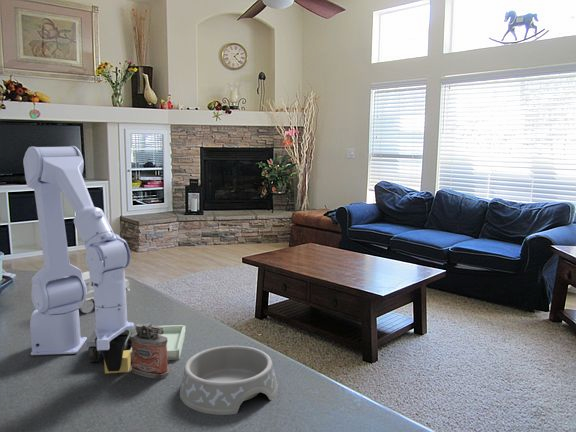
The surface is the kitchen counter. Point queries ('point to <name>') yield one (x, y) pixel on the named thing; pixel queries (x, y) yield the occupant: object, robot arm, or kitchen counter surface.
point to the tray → (172, 340)
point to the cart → (95, 354)
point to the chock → (124, 365)
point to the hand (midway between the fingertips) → (114, 369)
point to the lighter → (149, 351)
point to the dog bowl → (226, 379)
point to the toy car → (92, 293)
